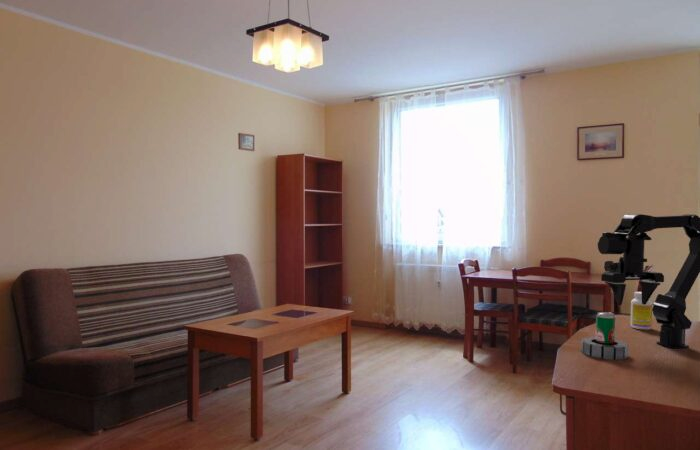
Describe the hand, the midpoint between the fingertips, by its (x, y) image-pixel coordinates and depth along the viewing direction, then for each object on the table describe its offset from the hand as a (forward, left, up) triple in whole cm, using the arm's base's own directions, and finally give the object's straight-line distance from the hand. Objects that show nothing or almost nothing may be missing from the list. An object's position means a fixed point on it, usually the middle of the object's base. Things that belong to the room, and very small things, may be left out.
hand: (631, 304), depth 162 cm
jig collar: (+14, +6, -13) cm, 20 cm away
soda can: (+14, +5, -13) cm, 20 cm away
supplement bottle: (-24, -21, -13) cm, 35 cm away
